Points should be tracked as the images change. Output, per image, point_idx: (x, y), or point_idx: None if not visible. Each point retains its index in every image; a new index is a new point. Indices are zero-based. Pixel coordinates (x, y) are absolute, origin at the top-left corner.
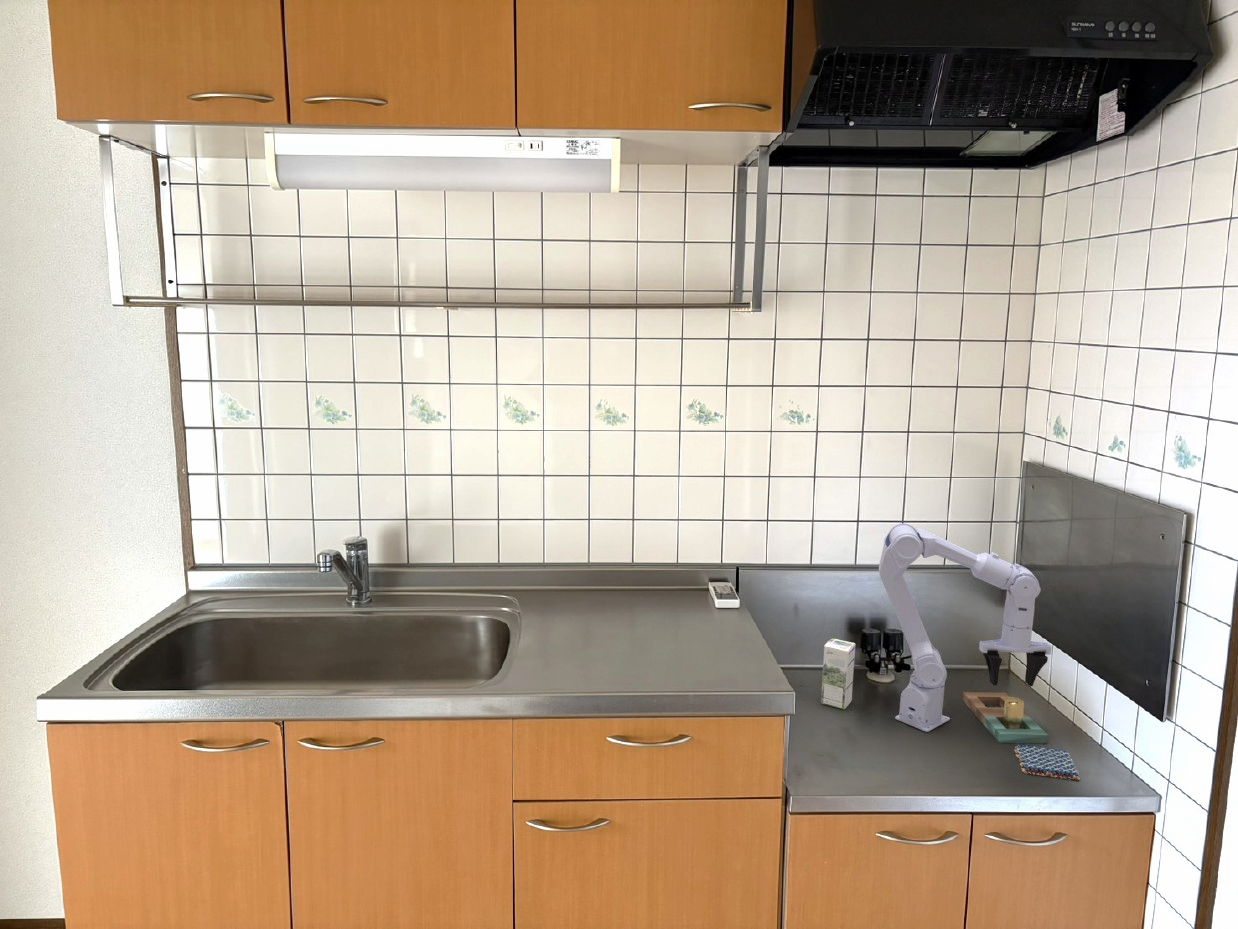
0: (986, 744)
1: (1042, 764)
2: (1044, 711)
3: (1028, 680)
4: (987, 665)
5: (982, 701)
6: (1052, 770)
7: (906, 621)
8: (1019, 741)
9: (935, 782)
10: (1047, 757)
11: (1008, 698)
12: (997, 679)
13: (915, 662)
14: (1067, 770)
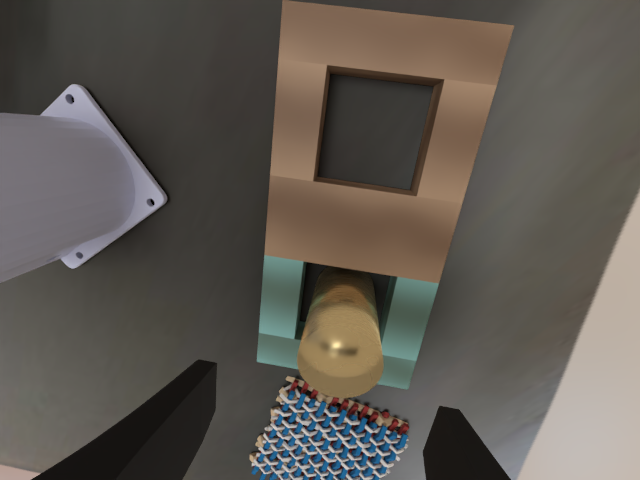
0: (225, 343)
1: (296, 474)
2: (595, 163)
3: (436, 467)
4: (80, 455)
5: (357, 72)
6: None
7: None
8: None
9: (56, 445)
10: (329, 457)
11: (324, 339)
12: (187, 462)
13: None
14: None
